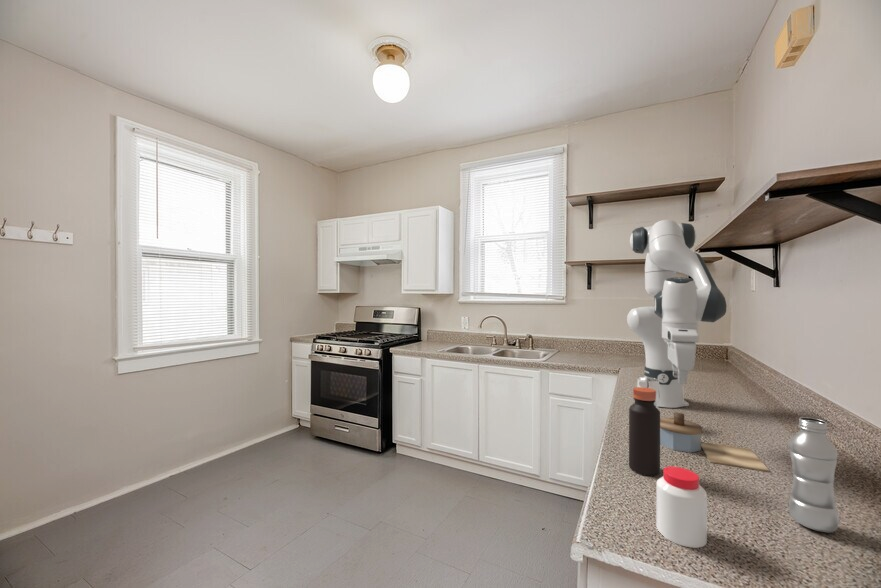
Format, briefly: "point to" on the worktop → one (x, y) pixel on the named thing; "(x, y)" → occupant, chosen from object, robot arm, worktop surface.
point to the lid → (680, 425)
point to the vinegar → (644, 433)
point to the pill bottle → (681, 507)
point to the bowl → (680, 441)
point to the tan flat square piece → (732, 456)
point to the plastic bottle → (813, 476)
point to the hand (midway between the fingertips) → (679, 380)
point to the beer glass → (650, 386)
